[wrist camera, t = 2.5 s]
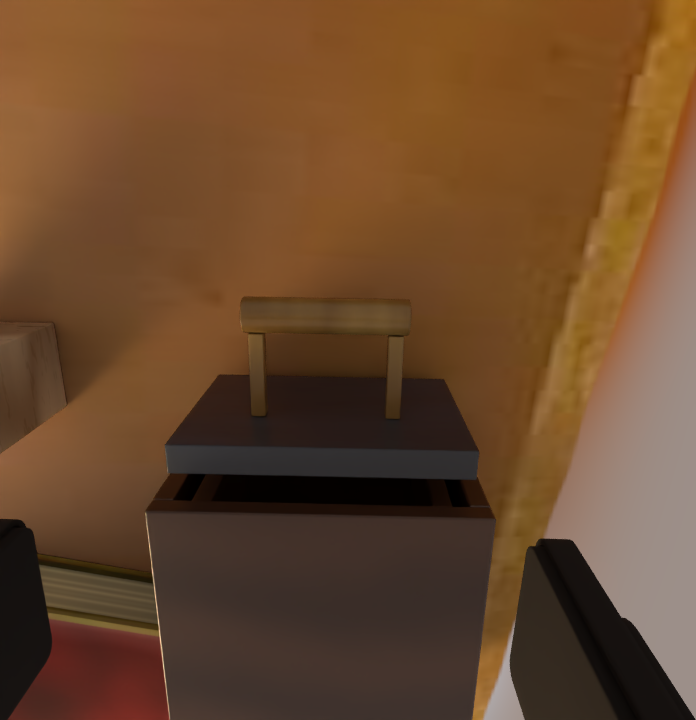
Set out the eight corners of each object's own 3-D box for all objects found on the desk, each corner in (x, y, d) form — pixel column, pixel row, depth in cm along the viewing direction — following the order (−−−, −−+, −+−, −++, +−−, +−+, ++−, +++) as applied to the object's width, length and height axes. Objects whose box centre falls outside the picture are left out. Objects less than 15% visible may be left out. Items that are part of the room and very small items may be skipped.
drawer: (212, 277, 25) (150, 311, 17) (451, 281, 25) (493, 318, 17) (234, 633, 31) (196, 770, 24) (424, 638, 31) (446, 777, 24)
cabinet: (214, 407, 28) (143, 511, 18) (449, 412, 28) (496, 519, 18) (231, 662, 33) (183, 842, 24) (428, 667, 33) (457, 850, 24)
